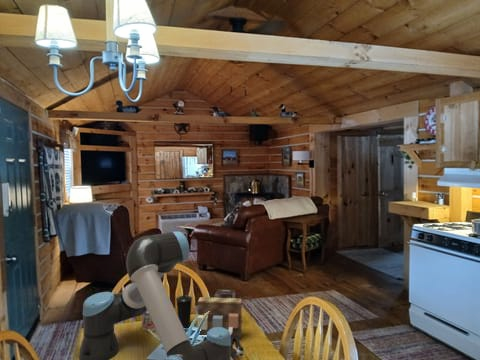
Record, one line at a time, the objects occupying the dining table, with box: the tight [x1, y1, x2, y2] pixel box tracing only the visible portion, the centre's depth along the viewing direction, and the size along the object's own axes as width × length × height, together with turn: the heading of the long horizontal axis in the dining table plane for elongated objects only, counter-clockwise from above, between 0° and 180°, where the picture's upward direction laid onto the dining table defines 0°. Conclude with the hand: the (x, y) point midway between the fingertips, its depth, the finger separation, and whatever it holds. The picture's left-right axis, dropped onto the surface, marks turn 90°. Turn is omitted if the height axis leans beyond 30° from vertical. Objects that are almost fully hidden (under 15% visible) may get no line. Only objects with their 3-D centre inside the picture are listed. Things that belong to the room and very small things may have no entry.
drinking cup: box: [175, 284, 193, 329], centre depth 167 cm, size 8×8×20 cm
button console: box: [197, 296, 243, 340], centre depth 159 cm, size 19×6×17 cm, turn 85°
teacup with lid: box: [141, 311, 157, 333], centre depth 166 cm, size 12×9×12 cm
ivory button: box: [197, 314, 208, 330], centre depth 154 cm, size 4×8×5 cm, turn 175°
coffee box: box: [214, 288, 237, 298], centre depth 170 cm, size 9×6×16 cm
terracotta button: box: [229, 313, 238, 328], centre depth 156 cm, size 4×8×5 cm, turn 175°
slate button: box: [213, 315, 223, 328], centre depth 154 cm, size 4×8×5 cm, turn 175°
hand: (230, 330), depth 144 cm, fingers closed
